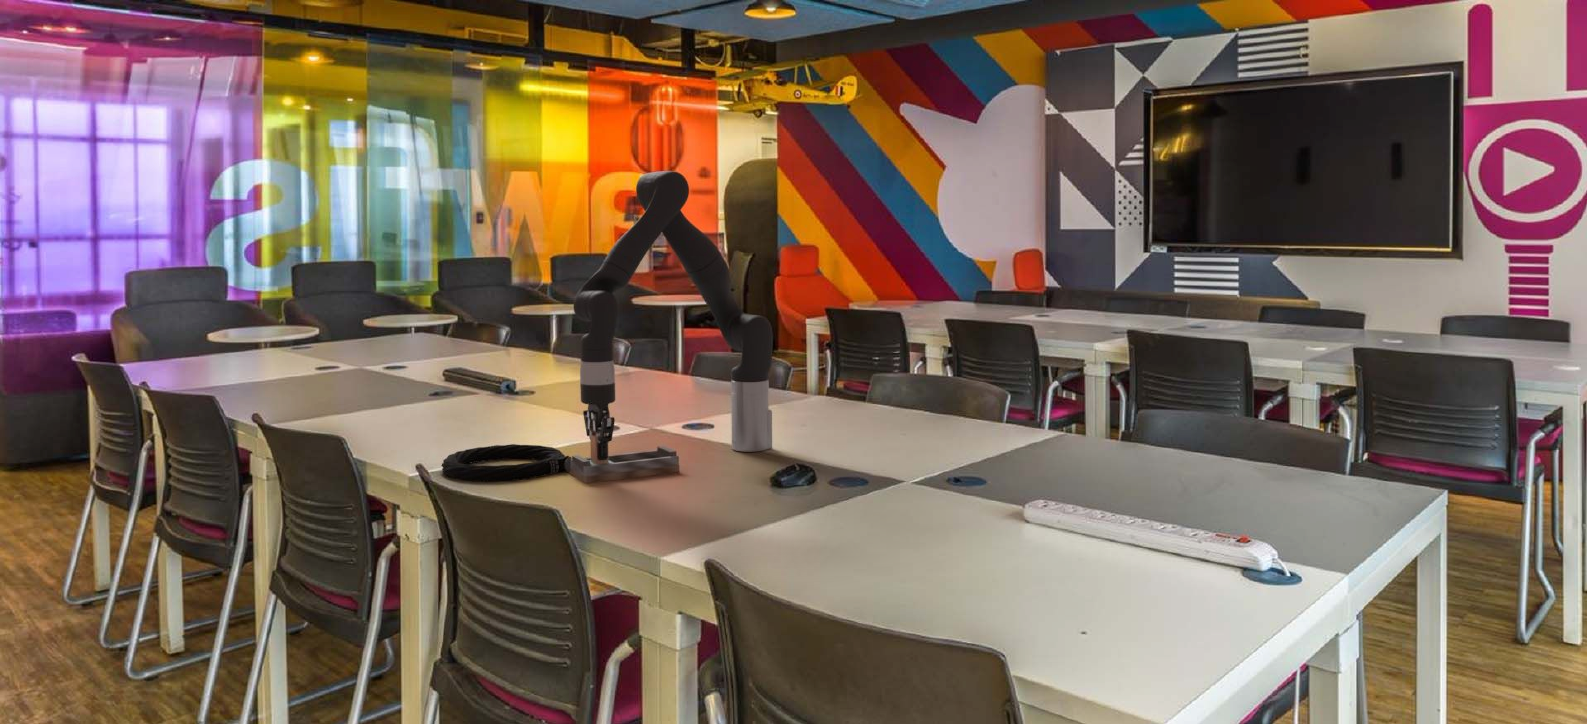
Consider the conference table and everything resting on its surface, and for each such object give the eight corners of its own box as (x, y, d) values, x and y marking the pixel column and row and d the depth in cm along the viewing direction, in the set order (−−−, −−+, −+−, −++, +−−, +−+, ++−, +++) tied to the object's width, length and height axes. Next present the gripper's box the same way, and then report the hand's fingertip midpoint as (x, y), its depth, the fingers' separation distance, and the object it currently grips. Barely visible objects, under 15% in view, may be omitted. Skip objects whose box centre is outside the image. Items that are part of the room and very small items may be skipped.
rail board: (661, 463, 267) (661, 444, 266) (679, 471, 258) (679, 452, 258) (570, 474, 256) (569, 454, 255) (585, 483, 247) (585, 462, 247)
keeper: (605, 465, 258) (604, 432, 257) (615, 470, 252) (615, 436, 251) (584, 467, 255) (583, 434, 254) (594, 473, 250) (593, 438, 249)
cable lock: (476, 440, 278) (593, 444, 272) (477, 456, 279) (593, 460, 273) (417, 464, 251) (545, 469, 245) (418, 481, 252) (546, 487, 246)
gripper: (625, 383, 247) (627, 462, 249) (602, 376, 259) (604, 451, 261) (592, 386, 244) (594, 466, 246) (570, 378, 256) (572, 454, 258)
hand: (599, 457), depth 254 cm, fingers closed on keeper, 3 cm apart
